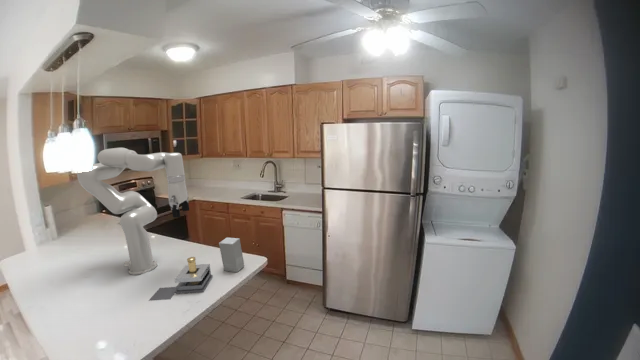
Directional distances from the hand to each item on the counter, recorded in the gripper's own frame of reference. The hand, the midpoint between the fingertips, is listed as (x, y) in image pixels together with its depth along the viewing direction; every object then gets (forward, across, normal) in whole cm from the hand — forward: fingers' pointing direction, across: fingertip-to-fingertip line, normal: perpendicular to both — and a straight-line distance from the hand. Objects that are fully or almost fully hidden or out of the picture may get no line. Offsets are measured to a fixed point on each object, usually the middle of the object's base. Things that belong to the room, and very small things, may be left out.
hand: (181, 213), depth 130 cm
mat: (+30, +19, -3) cm, 36 cm away
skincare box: (+31, +1, +22) cm, 38 cm away
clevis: (+30, +14, +8) cm, 34 cm away
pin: (+29, +14, +8) cm, 33 cm away
